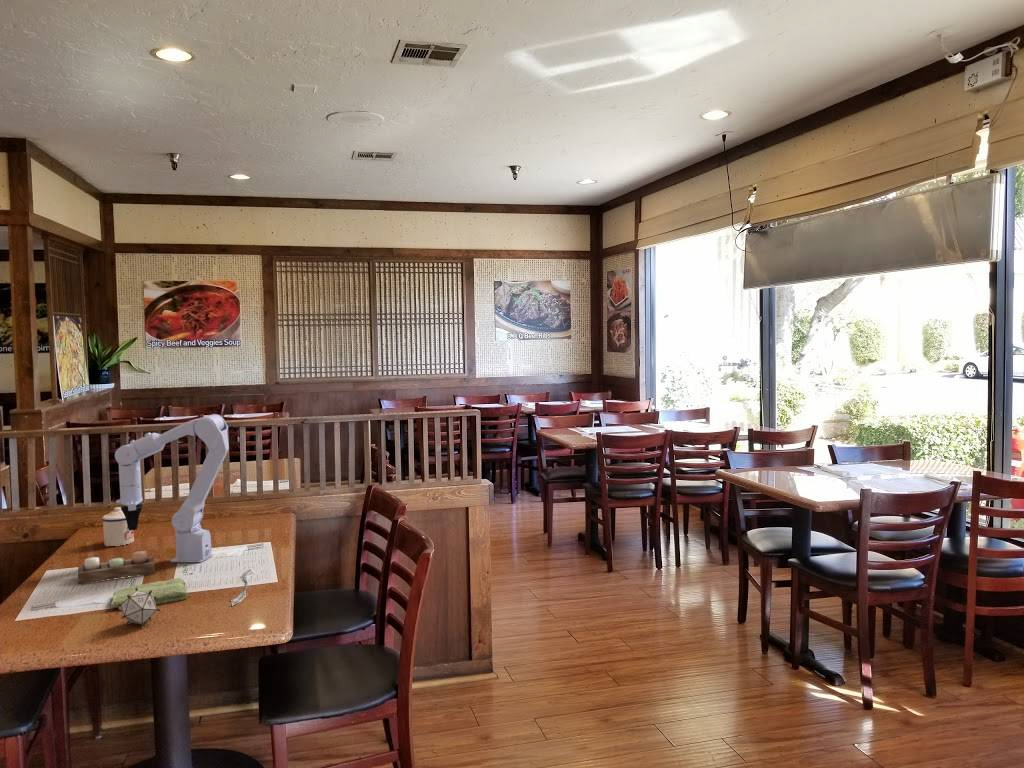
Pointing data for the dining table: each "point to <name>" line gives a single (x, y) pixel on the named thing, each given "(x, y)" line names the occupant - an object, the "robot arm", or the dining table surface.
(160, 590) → the washcloth
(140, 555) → the terracotta button
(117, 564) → the sage button
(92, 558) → the cream button
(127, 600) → the game die
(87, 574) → the button panel
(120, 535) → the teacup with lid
